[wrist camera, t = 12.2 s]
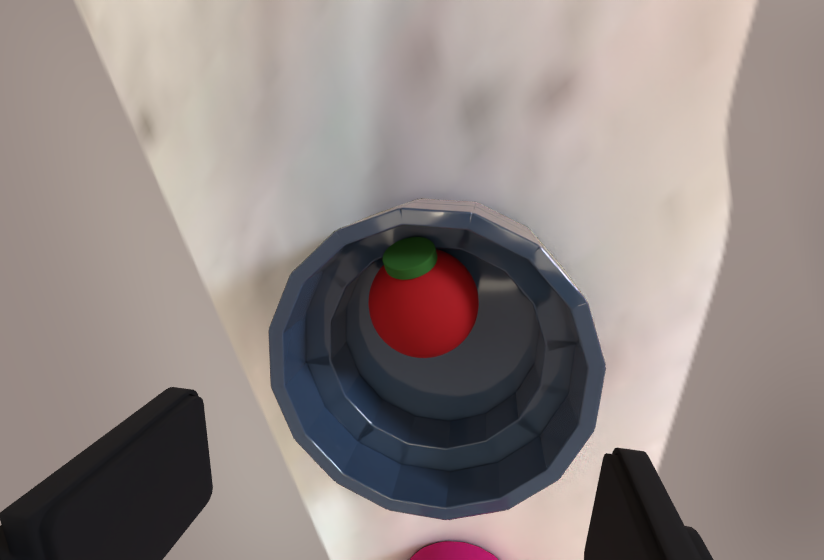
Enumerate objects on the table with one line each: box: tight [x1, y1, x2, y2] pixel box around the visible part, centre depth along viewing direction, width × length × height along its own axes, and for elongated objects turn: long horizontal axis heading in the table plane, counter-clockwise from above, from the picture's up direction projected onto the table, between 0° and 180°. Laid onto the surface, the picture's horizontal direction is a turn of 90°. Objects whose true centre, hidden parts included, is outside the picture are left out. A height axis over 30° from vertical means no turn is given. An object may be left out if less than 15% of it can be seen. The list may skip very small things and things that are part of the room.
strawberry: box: [368, 237, 479, 358], centre depth 18 cm, size 4×4×5 cm
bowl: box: [269, 198, 606, 520], centre depth 18 cm, size 12×12×5 cm
